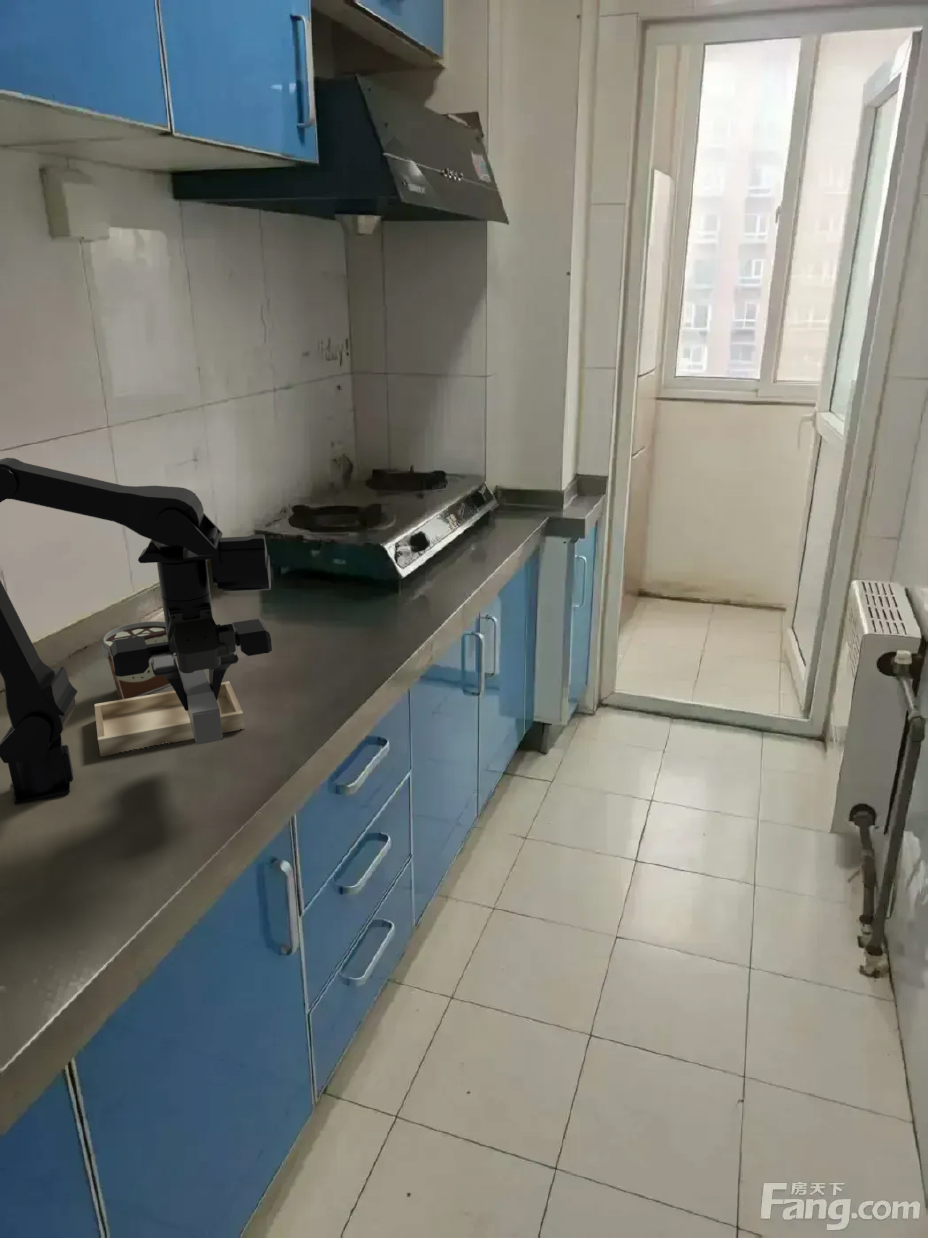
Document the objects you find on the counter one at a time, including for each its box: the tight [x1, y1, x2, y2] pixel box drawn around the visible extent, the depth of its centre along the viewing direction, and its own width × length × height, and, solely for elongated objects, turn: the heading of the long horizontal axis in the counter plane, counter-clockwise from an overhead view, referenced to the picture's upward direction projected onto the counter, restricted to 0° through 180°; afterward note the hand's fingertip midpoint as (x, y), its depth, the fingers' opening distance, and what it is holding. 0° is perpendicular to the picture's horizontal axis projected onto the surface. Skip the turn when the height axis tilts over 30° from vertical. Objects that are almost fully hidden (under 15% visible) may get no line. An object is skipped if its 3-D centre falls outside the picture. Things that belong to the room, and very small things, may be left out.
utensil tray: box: [94, 680, 245, 757], centre depth 126 cm, size 20×12×3 cm, turn 114°
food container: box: [101, 620, 177, 700], centre depth 136 cm, size 12×6×10 cm, turn 141°
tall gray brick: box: [178, 667, 224, 746], centre depth 110 cm, size 15×3×4 cm, turn 24°
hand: (200, 707), depth 110 cm, fingers closed on tall gray brick, 3 cm apart
